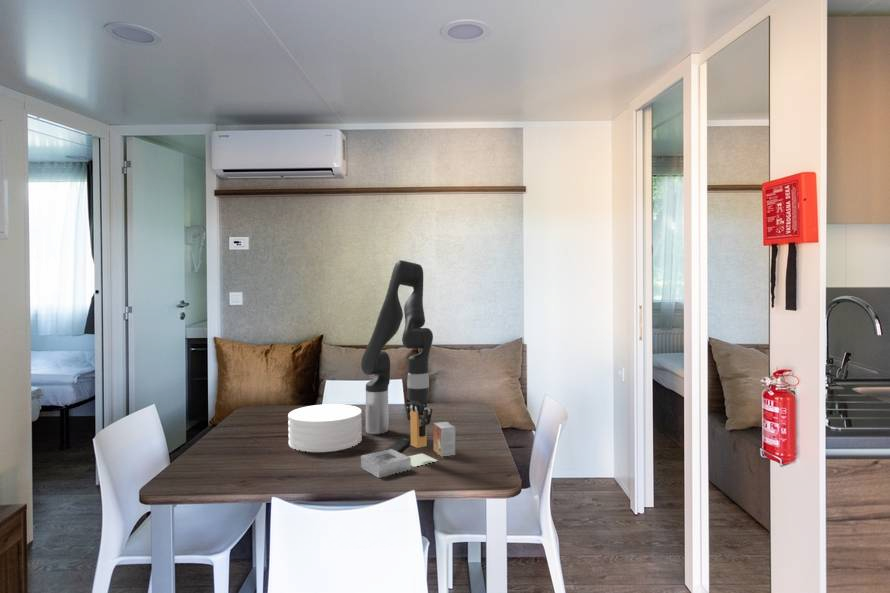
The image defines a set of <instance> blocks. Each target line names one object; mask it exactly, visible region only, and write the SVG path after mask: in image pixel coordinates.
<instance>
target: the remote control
mask: <svg viewBox="0 0 890 593" xmlns="http://www.w3.org/2000/svg"><path fill="white" fill-rule="evenodd" d="M410 443H411V434H410V435H409V434H405V435H403V436H402V437H401V438H400V439H398V440H396V441H395V442H394V443H393V444H391V445H390V446H389V447H387V448H386V449H385V450H389V449H393V450H395V451H397V452H399V453H401V452H402V451H403V450H404V449H406V448H407V447H408V446H409V445H411V444H410ZM406 446H407V447H406ZM405 447H406V448H405ZM400 451H401V452H400Z"/></svg>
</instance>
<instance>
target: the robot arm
mask: <svg viewBox="0 0 890 593" xmlns="http://www.w3.org/2000/svg"><path fill="white" fill-rule="evenodd" d="M392 269H393V270H392V272H391V276H390V280H389V283H388V288H387V292H386V295H385V298H384V301H383V303H382V306H381V309H380V312H379V314H378V317H377V320H376V324H375V326H374V330H373V332H372V335H371V338H370V340H369V342H368V344H367V345H366V348H365V350H364V352H363V355H362V356H361V363H360V369H361V371H362V372H363V374H365V375H367V376H368V375H369V376H372V375H374V377H373V378H371V380H369V381H368V382H366V384H365V411H364V414H365V415H364V416H365V418H364V419H365V433H367V434H371V435H380V434H381V433H382V434H386V433H388V432H389V385H390V382H391V380H390V378H391V359H390V356H389V354H388V352H387V351H385V350H382V349H383V348H384V347H385V346H386V345H387V344H388V342H390V341H391V339H393V337H395V335H396V334H397V333H398V331H399V329H400V327H401V323H402V321H403V316H404V322H405V323H404V329H403V333H402V337H401V341H402V345H403V347H405V348H406V349H409V350H411V349H412V350H413V349H414V350H415V349H421V351H420V352H419V353H417V354H413V355H410V356H408V358H407V376H406V377H407V379H406V389H407V390H406V392H407V400H409V402H407V403H404V406H405V411H406V412H405V413H406V418H407V421H410V411H415V412H416V413H418V419H419V436H420V437H424V436H425V435H426V426H428V425H430V424H431V419H432V414H433V408H429V407H428V403H427V401H428V400H429V398H430V380H429V379H430V376H429V358H430V357H429V356H430V352H431V348H432V345H433V340H434V335H433V331H432V330H431V328H429V327H424V326H425V323H426V317H425V310H424V304H423V303H424V269H423V267H422V265H420V264H418V263H417V262H416V263H415V262H411V261H407V260H401V259H400V260H399V259H398V260H397V261H396V263H395V264H394V266H393V268H392ZM400 286H404V287H405V286H406V287H412V289H413V290H412V293H411V295H410V296H409V297H408V298H407V300H406V301H405V303H404V305H403V309H402V306H401V305H402V304H401V303H400V299H399V288H400ZM420 415H424V416H422V417H420ZM421 419H423V421H422V420H421ZM387 431H388V432H387ZM385 432H386V433H385ZM382 434H381V435H382Z"/></svg>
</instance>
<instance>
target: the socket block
mask: <svg viewBox="0 0 890 593" xmlns="http://www.w3.org/2000/svg"><path fill="white" fill-rule="evenodd" d="M408 456H409V455H406V454H403V453H401V452H397V451H395V450H393V449H389V450H386V449H385V450H382V451H376V452H372V453H368V454H367V453H366V454H363V455H360V468H361V469H362V470H365V471H367V472H368V473H370V474H371V475H373V476H375V477H377V478H378V479H379V478H385V477H388V476H391V475H392V474H393V475H395V473H397V474H400V473H403V471H404V472H407V470H408V471H411V470H412V466H411V458H410V457H408ZM399 472H400V473H399Z"/></svg>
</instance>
